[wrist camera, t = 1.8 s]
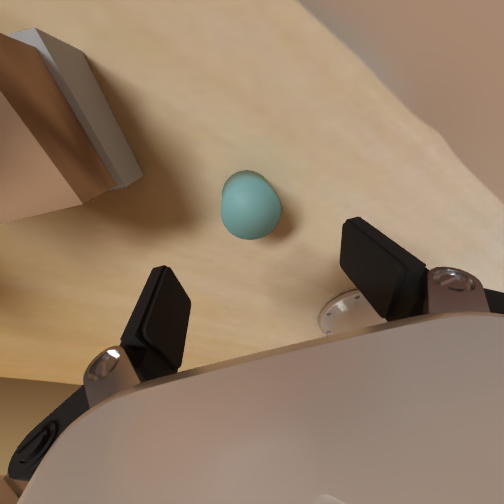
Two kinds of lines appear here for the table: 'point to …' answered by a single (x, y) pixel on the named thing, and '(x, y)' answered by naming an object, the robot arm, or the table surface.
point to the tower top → (41, 141)
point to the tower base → (86, 103)
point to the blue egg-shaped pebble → (249, 206)
